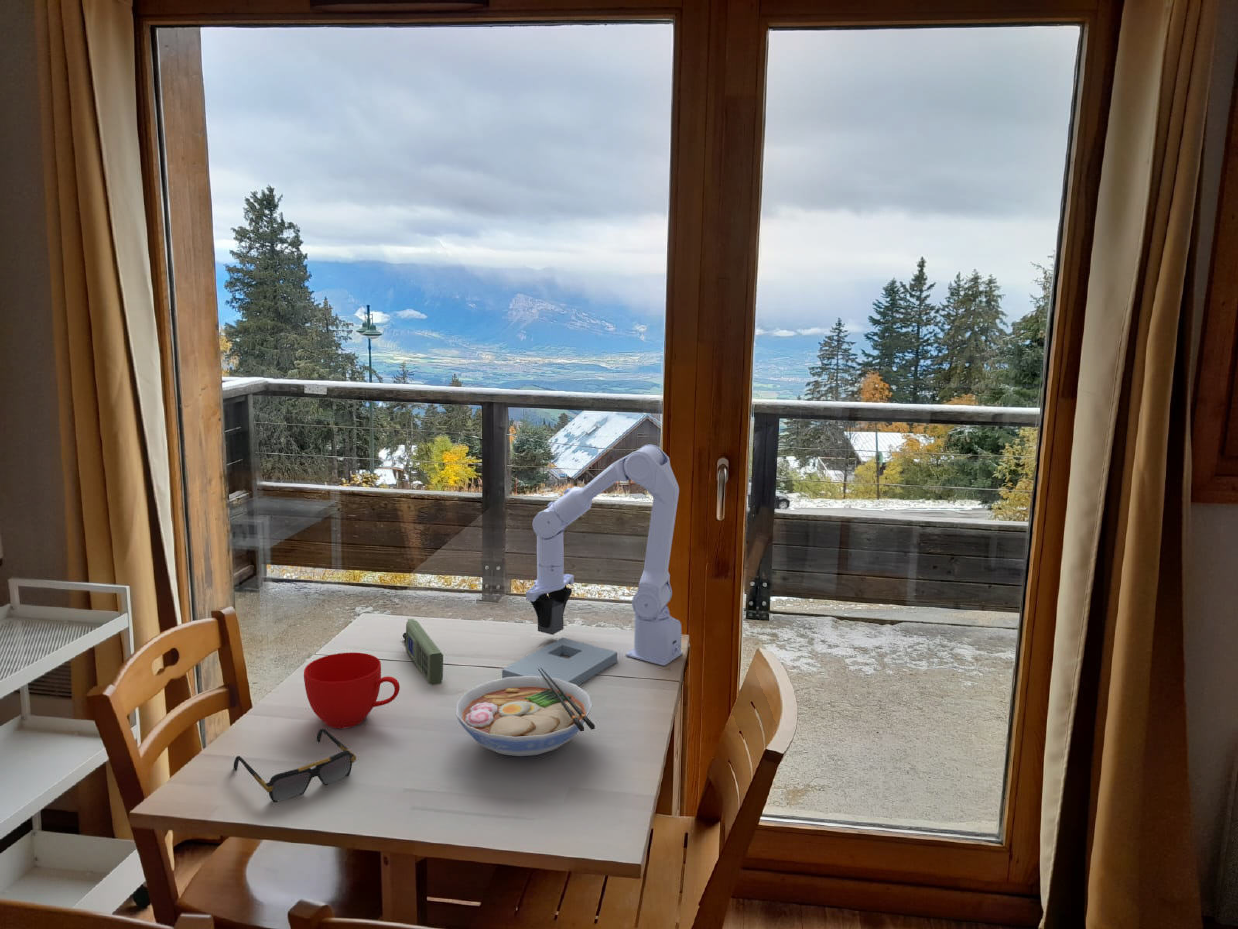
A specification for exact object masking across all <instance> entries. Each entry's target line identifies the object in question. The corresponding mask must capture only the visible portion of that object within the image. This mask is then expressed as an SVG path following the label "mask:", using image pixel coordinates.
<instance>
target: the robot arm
mask: <svg viewBox="0 0 1238 929" xmlns="http://www.w3.org/2000/svg"><path fill="white" fill-rule="evenodd" d="M670 460H671V459H670V457H669V456H668V455H667V454H666V453H665V452H664V451H663V450H662V448H660V447H659V446H657V445H655V444H645V445H643V446H641V447H640V448H639V449H637V450H636V451H632V452H631V453H629V454H628V455H625V456H624V457H623V456H622V457H621V458H620V459H618V460H616V461H614V462H613V463H611V464H610V465H609V466H607V467H606V468H605V469H603V471H601V473H599V474H598V475H597V476H596V477H594V478H593V479H592V480H590V482H588V483H587V484H585V485H584V486H583V487H581V486H580V487H579V486H573V487H572V488H571V487H567V488H566V489H565V490H564V491H563V492H562V493H563V494H562V495H561V496H560V497H559V498H557V499H556V500H555V501H550V502H548V504H547V508H545V509H544V510H542V511H539V512H538V513H536V515H535V517H533V520H532V529H533V532H534V533H535V534H536V572H537V573H536V578H537V579H535V580H533V586H532V587H531V588H530V589H528V590H526V591H525V600H526V601H528V602H530V604H531V605H532V607H533V609H534V612H535V615H536V617H537V622H538V621H539V625H540V627H544V628H548V627H549V625H550V615H551V609H552V605H553V602H554V601H557V602H561V603H563V614H564V612H565V609H566V605H567V603H568V600H569V599H570V597H571V595H572V594H573V589H572V588H570V587H567V586H568V585H573V584H574V582H575V576H574V575H573V574H569V573H566V574H565V573H564V571H565V570H564V569H565V566H564V562H565V559H564V553H565V550H564V548H565V546H564V531H565V529H566V528H567V526H569V525H571V524H572V523H573V522H575V521H576V520H577V519H579V518H580V517H582V516H583V515H584V514H585V513H586V512H588V511H590V510H591V507H592V503H593V499H595V498H596V497H597V496H599V495H600V494H601V493H602V492H605V490H607V489H608V488H610V487H611V486H613V485H614V484H616V482H620V481H621V482H628V481H629V480H631V481H632V482H634V483H636V484H638V485H639V486H640V487H643V488H644V489H645V490H646V491H647V492H648V493H649V495H651V497H652V498H653V499H652V507H651V512H650V520H649V528H648V536H647V542H646V549H645V551H646V552H645V557H644V558H645V559H644V567H643V572H642V574H641V576H640V580H639V582H638V589H637V591H636V593H635V594H634V596H633V597H632V600H631V607H632V609H633V611H634V640H633V642H634V646H633V649H630V650H629V651H628V652H626V653H625V656H626V657H629V658H634V659H637V660H641V661H644V662H648V663H650V664H651V663H652V664H655V665H660V666H667V665H668V664H669V663H671V662H672V661H674V660H675V659H677V658H678V657H680V656H681V655H682V654H684V653H683V651H682V623H681V621H680V620H679V619H676V618H675V617H673V616H672V615H670V609H669V607H668V605H667V604H668V603H669V602H670V601H671V599H672V596H673V590H672V586H671V583H670V580H671V579H670V578H671V574H670V573H669V566H670V558H671V553H672V552H671V551H672V545H673V537H674V530H675V525H676V516H677V509H678V502H679V494H680V487H679V484H678V481H677V479H676V476H675V474H674V472H673V471H674V470H673V469H672V466H671V462H670Z"/></svg>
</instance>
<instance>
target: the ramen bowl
mask: <svg viewBox="0 0 1238 929" xmlns="http://www.w3.org/2000/svg"><path fill="white" fill-rule="evenodd" d="M538 670H539V668H538ZM541 670H542V671H543V672H544V673H545V674H546V676H547V677H545V676H544V675H543V674H542V672H541V671H540V670H539V672H540V673H541V675H542V676H543V677H540V676H519V677H506V678H499V679H493V680H490V681H486V682H483V683H481V684H479V685H477V686H474V687H473V688H471V689H469V690H466V691H465V692H464V693H463V694H462V696H461V697H459V699H458V700H457V701H456V703H455V716H456V718H457V719H458V720H457V721H458V722H459V723H460V725H461V726H462V727H463V729H464V730H465V731H466V733H468V734H469V735H470V736H471V737H472V738H473V739H474V740H475V741H476V742H477V743H478V744H479V745H480V746H481V747H484V748H486V749H488V750H491V751H493V752H496V753H498V754H501V755H507V756H513V757H514V756H515V757H525V756H537V755H540V754H541V755H542V754H544V753H548V752H550V751H554V750H555V749H558V748H560V747H561V746H563V745H564V744H566V743H567V742H569V741H570V740H572V739H573V738H574V737H575V736H576V735H577V733H578V732H584V731H585V727H584V724H586V725H587V726H588V728H589V729H590V730H595V729H596V725H595V724H594V722H593V721H592V720H590V718H589V717H588V716H589V715H590V712H591V710H592V708H593V703H592V699H591V697H590V694H589V693H588V692H586V691H585V690H584V689H582V688H581V687H580V686H579V685H578V686H577V685H575V684H572V683H569V682H566V681H563V680H560V679H557V678H550V677H549V676H548V675H547V673H546V672H545V671H544V670H543V669H542V668H541Z"/></svg>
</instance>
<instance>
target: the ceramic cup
mask: <svg viewBox="0 0 1238 929" xmlns="http://www.w3.org/2000/svg"><path fill="white" fill-rule="evenodd" d="M303 682H304V688H305V694H306V697H307V701H308V703H309V705H310V709H312V711H313V712H314V714H315V715H316V717H317V718H319V720H321V721H322V722H324V723H325V725H326V726H328V727H330V728H333V729H348V728H353V727H355V726H358V725H360V724H361V723H363V721H364V720H365V719H366V718H367V717H368V715H369V714H370V713H371V711H372V710H373V708H378V707H380V706H385V705H387V704H390V703H391V702H392V701H394V700H395V699H396V698H397V697H398V695H399V692H400V688H401V687H400V683H399V680H398V679H397V678H395V677H393V676H384V677H382V663H381V660H380V659H379V658H378V657H377V656H375V655H372V654H369V653H364V652H354V651H353V652H340V653H333V654H329V655H326V656H325V655H324V656H322V657H319V658H317V659H314V660H313V661H311V662H310V663H309V664H307V666H305V668H304V670H303ZM385 682H387V683H390V684H392V686H393V689H394V691H393V693H392V695H391V696H390V697H388V698H386V699H382V700H379V701H377V700H378V697H379V694H380V689H381V684H383V683H385Z"/></svg>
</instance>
